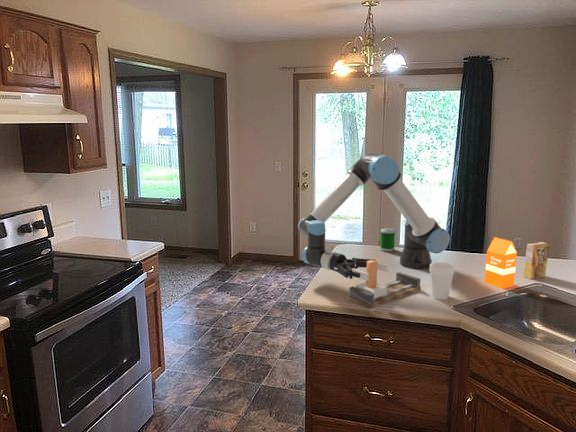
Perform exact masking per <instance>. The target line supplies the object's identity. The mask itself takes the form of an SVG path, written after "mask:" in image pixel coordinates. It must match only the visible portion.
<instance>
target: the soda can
mask: <svg viewBox="0 0 576 432" xmlns="http://www.w3.org/2000/svg"><path fill="white" fill-rule="evenodd" d="M395 244H396V230H395V229H394V228H393V227H383V228H382V229H380V244H379V245H380V246H379V247H380V250H381V251H382V252H388V253H389V252H393V251H394V250H395V246H396V245H395Z"/></svg>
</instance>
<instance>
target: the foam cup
mask: <svg viewBox="0 0 576 432" xmlns="http://www.w3.org/2000/svg"><path fill="white" fill-rule="evenodd" d="M455 267H456V266H455V265H454V264H452V263H449V262H442V261H439V262H438V261H436V262H434V261H433V262H432V263H431V264H430V267H429V268H428V269H429V274H430V289H431V297H432V298H433V299H436V300H443V301H444V300H448V299H449V296H450V292H451V287H452V282H453V278H454V274H455Z"/></svg>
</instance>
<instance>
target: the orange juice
mask: <svg viewBox="0 0 576 432" xmlns="http://www.w3.org/2000/svg"><path fill="white" fill-rule="evenodd" d="M517 255H518V252H517V249H516V248H515V245H514V243H513V241H512V240H508V239H505V238H501V237H496V236H493V239H492V241H491V243H490V245H489V246H488V249H487V251H486V259H485V260H486V261H485V262H486V263H485V275H484V283H485V284H487V285H490V286H492V287H496V288H499V289H502V290H503V289H507V288H510V287H514V286H515V276H516V268H517V267H516V266H517Z"/></svg>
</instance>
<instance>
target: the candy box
mask: <svg viewBox="0 0 576 432" xmlns="http://www.w3.org/2000/svg"><path fill="white" fill-rule="evenodd" d="M549 247H550V244H549V243H547V242H543V241H540V242H533V243H526V250H525V251H526V252H525V260H524V261H525V262H524V268H523V269H524V270H523V277H524V278H527V279H529V280H533V279H539V278H545V277H546V273H547V271H546V270H547V264H548V257H549Z"/></svg>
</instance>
